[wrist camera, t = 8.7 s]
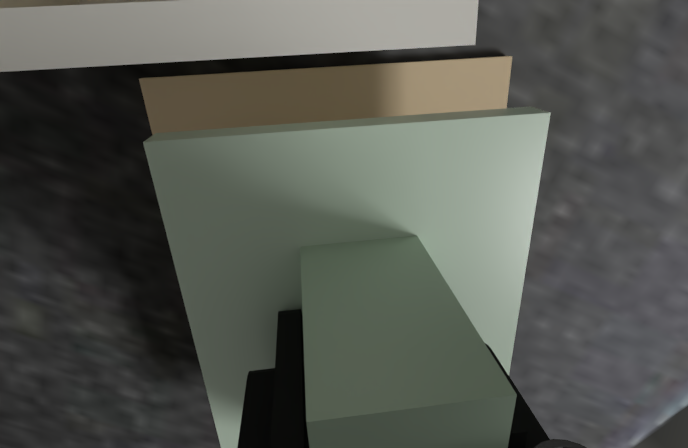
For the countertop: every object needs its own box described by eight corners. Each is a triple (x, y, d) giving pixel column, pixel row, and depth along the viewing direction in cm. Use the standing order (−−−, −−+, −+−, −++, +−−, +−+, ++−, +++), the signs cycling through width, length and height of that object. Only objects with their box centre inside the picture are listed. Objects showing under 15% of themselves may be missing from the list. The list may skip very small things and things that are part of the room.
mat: (471, 395, 17) (474, 400, 17) (225, 427, 16) (224, 434, 16) (507, 55, 12) (512, 56, 11) (142, 77, 11) (138, 78, 11)
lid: (471, 420, 15) (586, 667, 9) (242, 451, 14) (208, 739, 8) (508, 100, 10) (796, 185, 4) (169, 123, 9) (-28, 260, 4)
